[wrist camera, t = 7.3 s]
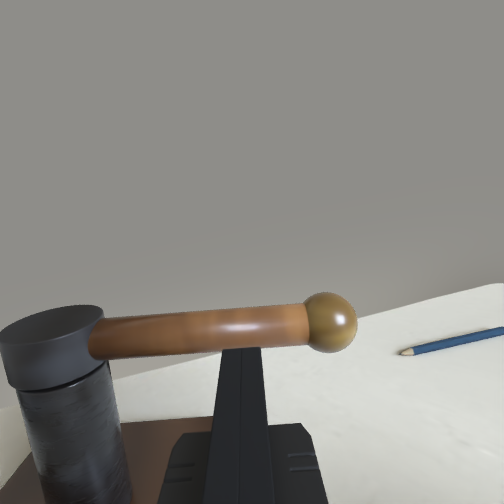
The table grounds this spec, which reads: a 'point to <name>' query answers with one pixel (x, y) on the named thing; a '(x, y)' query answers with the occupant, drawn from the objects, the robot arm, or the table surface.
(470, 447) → the table surface
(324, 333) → the handle
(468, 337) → the pencil
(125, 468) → the valve stand
